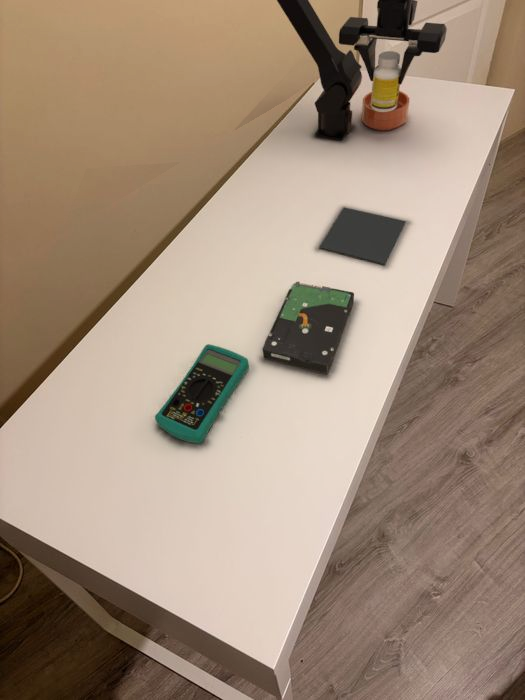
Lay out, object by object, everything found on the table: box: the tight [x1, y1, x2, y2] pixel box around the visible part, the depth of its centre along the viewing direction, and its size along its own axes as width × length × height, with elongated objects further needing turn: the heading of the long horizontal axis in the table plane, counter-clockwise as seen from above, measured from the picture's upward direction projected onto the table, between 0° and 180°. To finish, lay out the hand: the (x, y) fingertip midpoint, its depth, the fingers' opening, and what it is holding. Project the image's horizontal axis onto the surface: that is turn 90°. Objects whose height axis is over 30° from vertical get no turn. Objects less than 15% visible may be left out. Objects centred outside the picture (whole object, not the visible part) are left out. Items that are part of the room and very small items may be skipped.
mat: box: [318, 206, 406, 266], centre depth 89 cm, size 12×12×1 cm
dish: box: [361, 90, 410, 131], centre depth 110 cm, size 10×10×4 cm
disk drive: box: [262, 281, 355, 375], centre depth 76 cm, size 10×3×15 cm
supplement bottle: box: [371, 50, 402, 112], centre depth 98 cm, size 5×5×10 cm
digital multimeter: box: [154, 344, 250, 444], centre depth 70 cm, size 7×15×3 cm, turn 152°
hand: (386, 81), depth 98 cm, fingers closed on supplement bottle, 5 cm apart
